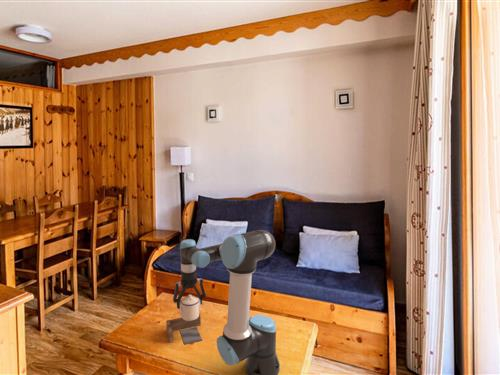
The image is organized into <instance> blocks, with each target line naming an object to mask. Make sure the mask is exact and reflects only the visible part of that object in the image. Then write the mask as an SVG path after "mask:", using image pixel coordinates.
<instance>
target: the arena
mask: <svg viewBox="0 0 500 375" xmlns="http://www.w3.org/2000/svg"><path fill="white" fill-rule="evenodd" d="M165 321H166V323H165V324H166V326H165V327H166V333H167V338H168V341H169V344H171V343H173V342H174V339H173V338H174V335H173V332H176V331H179V332H180V335H181V336H180V337H181V338H182V341H183V344H184V345H185V346H186V345H189V344H193V343H197V342H202V341H203V338H202V337H201V334H200V331H199V329H198V327H199V326H201V324H202V322H201V313H199V317H198V318H197V319H195V320H192V321H186V320H184V319H182V316H181V317H178V318H172V319H168V320H165Z"/></svg>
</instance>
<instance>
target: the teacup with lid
mask: <svg viewBox="0 0 500 375" xmlns="http://www.w3.org/2000/svg"><path fill="white" fill-rule="evenodd" d="M198 297H199V296H198ZM198 297H197V296H196V295H192V294H188V295H186V296H183V297H182V298H181V310H182V315H181V317H182V319H184V320H186V321H192V320H195V319H197V318H198V317H199V314H200V312H199V299H198Z"/></svg>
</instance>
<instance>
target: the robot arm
mask: <svg viewBox="0 0 500 375" xmlns="http://www.w3.org/2000/svg"><path fill="white" fill-rule="evenodd" d="M196 246H197V244H196V240H194V239H191V238H190V239H189V238H188V239H184V240H181V242H180V246H179V252H180V278H181V279H180V281H175V282H174V284H175V285H174V287H175V288H174V293H173V297H172V301H173V303H175V304H176V308H177V310H178V313H179V316H182V310H181V307H182V305H181V300H182V299H183V297H184V294H185V292H186V291H187V290H188V289H194V291H195V293H196V295H197V296H198V299H199V313H200V312H201V311H202V310H201V308H202V307H201V305H203V299H204V298H206V297H207V296H206V292H205V288H204V284H203V282H204V280H203V278H201V277H200V278H198V277H197V268H199V269H202V268H203V269H204V268H205V267H207V266H208V265H209V264H210V263H212V262H215V261H222V264H223V265H224V266H225V267H226V268H225V269H226V271H228V272H229V279H228V280H229V283H228V286H229V287H228V303H227V304H228V305H227V319H226V322H227V323H225V325H224V326H223V327H222V335H219V336H218V337H216V347H217V351H218V353H219V356H220V357H221V360H222V361H223V362H224V363H225V364H226V365H228V366H233V365H236V364H239V363H240V362H243V361H244V360H246V361H245V365H244V366H245V367H244V368H245V372H246V374H247V375H278V374H279V373H280V369H281V366H280V365H281V364H280V360H279V358H278V354H277V351H276V350H277V348H276V346H277V343H276V342H277V328H276V325H277V324H276V322H275V320H274V319H273V318H272V317H270V316H267V315H263V314H255V315H252V316H250V308H251V307H250V306H251V294H252V280H253V279H252V277H253V274H254V273H255V272H256V270H257V263H258V262H259V261H264V260H265V259H267V258H270V257H271V256H272V255H273V254H274V252H275V250H276V240H275V236H273V234H272V233H270V232H269V231H268V230H264V229H256V230H252V231H249V232H243V233H235V234H233V235H230V236H227V237H226V238H225V239H224V241H223V242H222V243H219V244H218V243H217V244H215V245H210V246H206V247H201V248H198V247H196ZM197 283H198V284H199V287H200V291H201V292H200V291H199V290H198V288H197V286H196V284H197ZM180 286H181V289H180ZM178 293H179V294H178Z"/></svg>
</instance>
